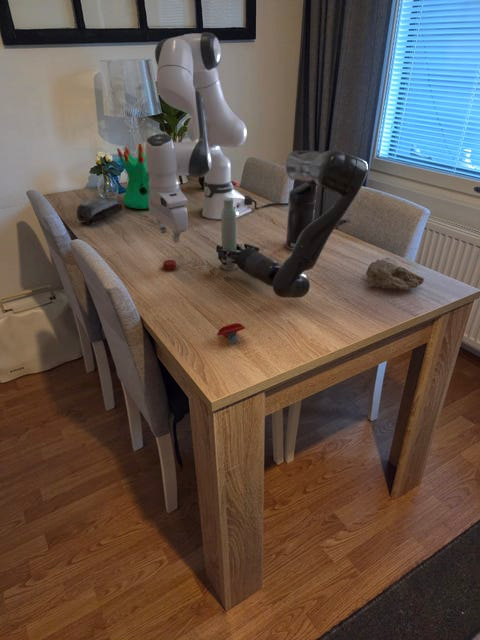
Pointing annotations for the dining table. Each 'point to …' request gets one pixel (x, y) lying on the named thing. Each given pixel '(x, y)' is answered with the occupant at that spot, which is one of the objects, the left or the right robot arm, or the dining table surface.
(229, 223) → the bottle
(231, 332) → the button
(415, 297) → the dining table surface
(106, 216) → the rock
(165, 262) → the cap
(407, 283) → the artifact
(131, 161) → the toy
